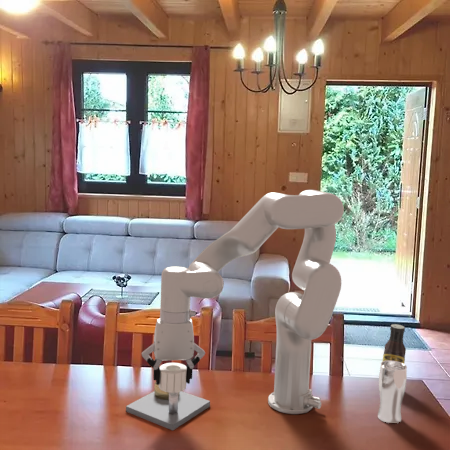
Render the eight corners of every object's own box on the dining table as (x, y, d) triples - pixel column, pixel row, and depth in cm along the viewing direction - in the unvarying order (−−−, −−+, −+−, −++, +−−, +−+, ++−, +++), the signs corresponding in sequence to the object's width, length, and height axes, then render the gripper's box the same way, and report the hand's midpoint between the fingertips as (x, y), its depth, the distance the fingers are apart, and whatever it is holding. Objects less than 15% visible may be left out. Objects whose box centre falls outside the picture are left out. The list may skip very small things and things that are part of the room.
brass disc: (184, 393, 150) (184, 383, 150) (168, 402, 144) (168, 391, 144) (165, 386, 154) (165, 376, 153) (149, 395, 148) (149, 384, 148)
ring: (191, 385, 139) (192, 367, 138) (174, 395, 133) (175, 376, 132) (170, 378, 143) (171, 360, 142) (153, 387, 137) (153, 368, 136)
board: (209, 406, 146) (210, 401, 146) (172, 430, 133) (172, 424, 133) (165, 390, 155) (165, 385, 155) (126, 411, 142) (126, 406, 141)
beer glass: (389, 427, 138) (393, 372, 136) (370, 414, 144) (374, 362, 142) (408, 421, 141) (413, 367, 139) (389, 409, 148) (393, 358, 145)
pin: (179, 411, 139) (180, 392, 138) (173, 415, 137) (174, 395, 136) (172, 409, 141) (172, 389, 140) (166, 412, 139) (167, 392, 138)
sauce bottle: (378, 391, 159) (383, 327, 156) (380, 383, 165) (385, 321, 162) (401, 395, 156) (407, 330, 154) (402, 387, 162) (408, 324, 159)
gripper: (206, 310, 141) (203, 374, 143) (139, 311, 137) (138, 377, 140) (211, 319, 133) (208, 387, 136) (141, 320, 130) (139, 389, 132)
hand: (172, 381), depth 138 cm, fingers closed on ring, 7 cm apart
